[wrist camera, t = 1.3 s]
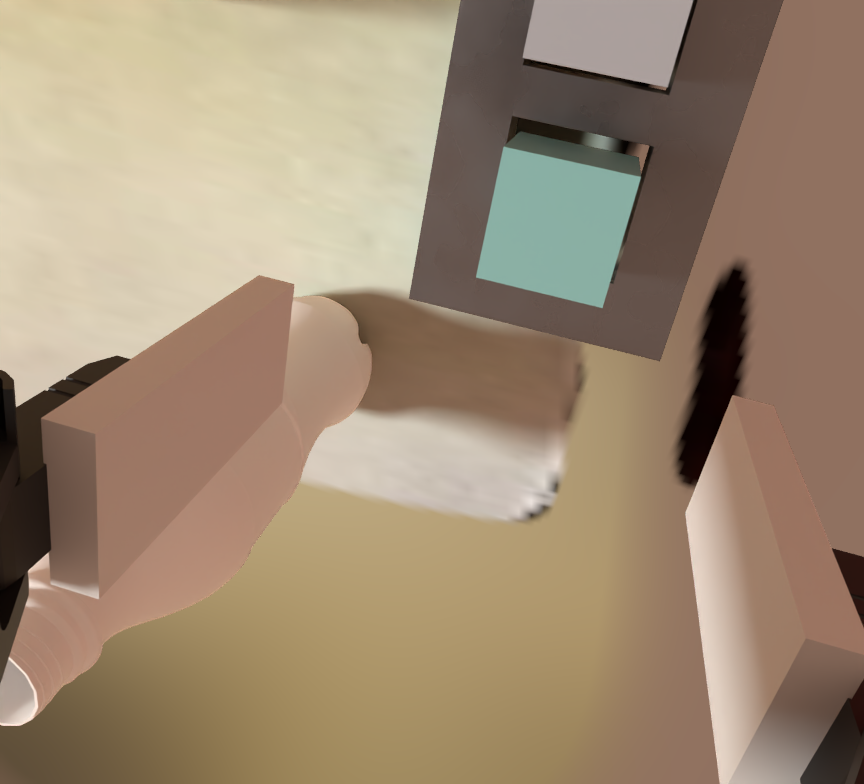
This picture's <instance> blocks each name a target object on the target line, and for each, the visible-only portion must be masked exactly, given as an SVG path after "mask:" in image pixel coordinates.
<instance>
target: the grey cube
mask: <svg viewBox="0 0 864 784" xmlns="http://www.w3.org/2000/svg"><path fill="white" fill-rule="evenodd" d="M692 3H693V0H535V1H534V6H533V10H532V15H531V20H530V24H529V29H528V34H527V39H526V43H525V48H524V53H523V57H522V58H526V59H531V60H536V61H541V62H546V63H550V64H555V65H560V66H565V67H570V68H575V69H580V70H584V71H589V72H594V73H599V74H604V75H609V76H614V77H618V78H623V79H628V80H633V81H638V82H643V83H648V84H652V85H657V86H662V87H668V84H669V81H670V77H671V74H672V71H673V67H674V64H675V60H676V57H677V54H678V50H679V47H680V43H681V40H682V37H683V33H684V30H685V26H686V23H687V20H688V16H689V13H690V10H691V6H692Z"/></svg>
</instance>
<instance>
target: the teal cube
mask: <svg viewBox="0 0 864 784" xmlns="http://www.w3.org/2000/svg"><path fill="white" fill-rule="evenodd" d="M640 179H641V172H640V165H639V157H635V156H630V155H626V154H621V153H617V152H612V151H608V150H603V149H598V148H594V147H589V146H585V145H580V144H575V143H571V142H566V141H562V140H557V139H552V138H548V137H543V136H539V135H534V134H529V133H525V132H519V133H518V134H517V135H516V136H515V137H514V138H512V139H511V140H510V141H509V142H508V143H507V144H506V145H505V146H504V147H503V152H502V157H501V161H500V166H499V171H498V175H497V180H496V185H495V190H494V194H493V199H492V204H491V208H490V213H489V218H488V223H487V227H486V232H485V237H484V242H483V246H482V251H481V256H480V260H479V265H478V270H477V275H476V278H481V279H485V280H489V281H493V282H497V283H501V284H505V285H509V286H514V287H518V288H522V289H526V290H530V291H534V292H538V293H542V294H546V295H551V296H555V297H559V298H563V299H567V300H571V301H575V302H579V303H583V304H588V305H592V306H596V307H600V308H603V304H604V301H605V298H606V294H607V291H608V288H609V284H610V281H611V277H612V274H613V271H614V267H615V264H616V260H617V257H618V254H619V250H620V247H621V243H622V240H623V237H624V233H625V230H626V226H627V223H628V220H629V216H630V213H631V210H632V206H633V203H634V199H635V196H636V193H637V189H638V186H639V182H640Z"/></svg>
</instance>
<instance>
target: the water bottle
mask: <svg viewBox="0 0 864 784" xmlns="http://www.w3.org/2000/svg"><path fill="white" fill-rule="evenodd" d="M358 331H359V327H358V323H357V321H356V320H355V318H354V316H353V315H352V313H351V312H350V311H349V310H348V309H346V308H345V307H343V306H342V305H341V304H339V303H337V302H335V301H333V300H331V299H329V298H326V297H323V296H303V297H294V298H293V302H292V312H291V322H290V331H289V341H288V351H287V361H286V371H285V380H284V390H283V400H282V404H281V405H280V406H279V407H278V408H277V409H276V410H275V411H274V412H273V413H272V414H271V416H270V417H269V418H268V419H267V420H266V421H265V422H264V423H263V424H262V425H261V426H260V427H259V428H258V430H257V431H256V432H255V433H254V434H253V435H252V436H251V437H250V438H249V439H248V440H247V441H246V442H245V443H244V445H243V446H242V447H241V448H240V449H239V450H238V451H237V452H236V453H235V454H234V455H233V456H232V457H231V458H230V460H229V461H228V462H227V463H226V464H225V465H224V466H223V467H222V468H221V469H220V470H219V471H218V472H217V474H216V475H215V476H214V477H213V478H212V479H211V480H210V481H209V482H208V483H207V484H206V485H205V486H204V487H203V489H202V490H201V491H200V492H199V493H198V494H197V495H196V496H195V497H194V498H193V499H192V500H191V501H190V503H189V504H188V505H187V506H186V507H185V508H184V509H183V510H182V511H181V512H180V513H179V514H178V515H177V516H176V518H175V519H174V520H173V521H172V522H171V523H170V524H169V525H168V526H167V527H166V528H165V529H164V530H163V531H162V533H161V534H160V535H159V536H158V537H157V538H156V539H155V540H154V541H153V542H152V543H151V544H150V545H149V547H148V548H147V549H146V550H145V551H144V552H143V553H142V554H141V555H140V556H139V557H138V558H137V559H136V560H135V562H134V563H133V564H132V565H131V566H130V567H129V568H128V569H127V570H126V571H125V572H124V573H123V574H122V576H121V577H120V578H119V579H118V580H117V581H116V582H115V583H114V584H113V585H112V586H111V587H110V588H109V589H108V591H107V592H106V593H105V594H104V595H103V596H102V597H101V598H100V599H96V598H93V597H90V596H86V595H83V594H80V593H77V592H74V591H71V590H67V589H64V588H61V587H58V586H55V585H52V584H51V582H50V565H49V552H48V553H47V554H46V555H45V556H44V557H43V558H42V559H41V560H39V561H38V562H37V563H36V564H35V565H34V566H33V567H32V568H30V569H29V570H28V577H29V596H28V599H27V602H26V605H25V608H24V612H23V615H22V618H21V621H20V624H19V627H18V630H17V633H16V637H15V640H14V643H13V646H12V649H11V652H10V655H9V658H8V661H7V665H6V668H5V671H4V674H3V677H2V680H1V683H0V725H3V726H16V725H17V726H20V725H22V724H24V723H26V722H28V721H30V720H32V719H33V718H34V717H35V716H36V715H38V714H39V712H41V711H42V710H43V709H44V707H45V706H46V704H48V703H49V702H50V701H51V700H52V698H53V696H54V695H55V694H56V693H57V692H58V691H59V690H60V688H61V687H62V686H63V685H65V684H68V683H70V682H72V681H73V680H74V679H75V678H76V677H77V676H78V675H79V674H82V673H84V672H85V671H87V670H88V669H90V668H91V667H92V666H93V665H94V664H95V662H96V661H97V660H98V658H99V656H100V654H101V651H102V647H103V643H104V642H105V641H107V640H108V639H109V638H111V637H112V636H113V635H115V634H117V633H119V632H120V631H122V630H125V629H127V628H130V627H133V626H136V625H138V624H142V623H145V622H148V621H151V620H154V619H158V618H161V617H164V616H166V615H169V614H172V613H174V612H177V611H179V610H182V609H185V608H187V607H189V606H191V605H193V604H195V603H197V602H199V601H201V600H203V599H205V598H207V597H208V596H210V595H212V594H213V593H214V592H216V591H217V590H218V589H219V588H221V587H222V586H223V585H224V584H225V583H227V582H228V581H229V580H230V579H231V578H232V577H233V576H234V575H235V574H236V572H237V571H238V570H239V569H240V568H241V567H242V566H243V565H244V563H245V561H246V559H247V557H248V556H249V554H250V551H251V548H252V546H253V545H254V544H255V542H256V541H257V539H258V538H259V537H260V535H261V534H262V533H263V531H264V530H265V528H266V527H267V526H268V524H269V523H270V522H271V520H272V519H273V517H274V516H275V515H276V513H277V512H278V511H279V509H280V508H281V506H282V505H284V504H285V503H286V502H288V500H289V499H290V498H291V496H292V495H293V493H294V491H295V490H296V488H297V485H298V484H299V481H300V478H301V475H302V472H303V469H304V466H305V463H306V461H307V458H308V455H309V453H310V451H311V449H312V447H313V445H314V443H315V441H316V439H317V438H318V436H319V435H320V434H321V433H322V431H323V430H324V429H325V428H326V427H330V426H333V425H335V424H337V423H339V422H341V421H343V420H344V419H346V418H347V417H348V416H350V415H351V414H352V413H353V412H354V410H355V409H356V408H357V406H358V405H359V403H360V402H361V400H362V398H363V396H364V394H365V392H366V390H367V387H368V384H369V380H370V375H371V371H372V353H371V350H370V348H369V346H368V344H362V343H361V341H360V339H359V336H358Z"/></svg>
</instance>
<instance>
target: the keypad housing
mask: <svg viewBox="0 0 864 784" xmlns="http://www.w3.org/2000/svg"><path fill="white" fill-rule="evenodd" d="M534 1H535V0H461V2H460V7H459V13H458V19H457V25H456V31H455V36H454V42H453V48H452V54H451V59H450V65H449V71H448V77H447V83H446V88H445V94H444V100H443V106H442V111H441V117H440V123H439V129H438V135H437V140H436V146H435V152H434V158H433V163H432V169H431V175H430V181H429V186H428V192H427V198H426V204H425V210H424V215H423V221H422V227H421V233H420V238H419V244H418V250H417V256H416V262H415V267H414V273H413V279H412V285H411V290H410V296H409V299H413V300H417V301H421V302H425V303H429V304H433V305H437V306H441V307H445V308H449V309H453V310H457V311H461V312H465V313H469V314H473V315H477V316H481V317H485V318H489V319H493V320H497V321H501V322H505V323H509V324H513V325H517V326H521V327H525V328H529V329H533V330H537V331H541V332H545V333H549V334H553V335H557V336H561V337H565V338H569V339H573V340H577V341H581V342H585V343H589V344H593V345H598V346H601V347H605V348H609V349H613V350H617V351H622V352H625V353H630V354H633V355H638V356H641V357H646V358H649V359H653V360H658V361H660V359H661V356H662V354H663V351H664V348H665V345H666V342H667V339H668V336H669V333H670V330H671V327H672V324H673V321H674V319H675V316H676V313H677V310H678V307H679V304H680V301H681V298H682V295H683V292H684V289H685V286H686V283H687V281H688V277H689V275H690V272H691V269H692V266H693V263H694V260H695V257H696V254H697V251H698V248H699V245H700V242H701V240H702V236H703V234H704V231H705V228H706V225H707V222H708V219H709V216H710V213H711V210H712V207H713V205H714V202H715V198H716V196H717V193H718V190H719V187H720V184H721V181H722V178H723V175H724V172H725V169H726V167H727V163H728V161H729V158H730V155H731V152H732V149H733V146H734V143H735V140H736V137H737V134H738V132H739V128H740V125H741V123H742V120H743V117H744V114H745V111H746V108H747V105H748V102H749V99H750V96H751V94H752V91H753V88H754V85H755V82H756V79H757V76H758V73H759V70H760V67H761V64H762V61H763V58H764V56H765V52H766V50H767V47H768V44H769V41H770V38H771V35H772V32H773V29H774V26H775V23H776V20H777V18H778V15H779V12H780V9H781V6H782V3H783V0H693V3H692V6H691V10H690V13H689V16H688V20H687V23H686V26H685V30H684V33H683V37H682V40H681V43H680V47H679V50H678V54H677V57H676V60H675V64H674V67H673V71H672V74H671V77H670V81H669V84H668V87H667V89H666V91H665V90H660V89H655V88H651V87H646V86H641V85H636V84H631V83H626V82H622V81H617V80H612V79H607V78H602V77H597V76H592V75H588V74H583V73H578V72H573V71H568V70H563V69H559V68H554V67H549V66H544V65H539V64H534V63H531V59H526V58H522V57H523V53H524V48H525V43H526V39H527V34H528V29H529V24H530V20H531V15H532V10H533V6H534ZM519 118H524V119H529V120H533V121H538V122H543V123H547V124H552V125H557V126H561V127H566V128H571V129H575V130H580V131H584V132H589V133H594V134H598V135H603V136H608V137H612V138H617V139H622V140H626V141H631V142H635V143H640V144H645V145H649V146H650V147H649V150H648V153H647V157H646V160H645V164H644V167H643V170H642V174H641V179H640V182H639V186H638V189H637V193H636V196H635V199H634V203H633V206H632V210H631V213H630V216H629V220H628V223H627V226H626V230H625V233H624V237H623V240H622V243H621V247H620V250H619V254H618V257H617V260H616V264H615V267H614V271H613V274H612V277H611V281H610V284H609V288H608V291H607V294H606V298H605V301H604V304H603V308H600V307H596V306H592V305H588V304H583V303H579V302H575V301H571V300H567V299H563V298H559V297H555V296H551V295H546V294H542V293H538V292H534V291H530V290H526V289H522V288H518V287H514V286H509V285H505V284H501V283H497V282H493V281H489V280H485V279H481V278H476V275H477V270H478V265H479V260H480V256H481V251H482V246H483V242H484V237H485V232H486V227H487V223H488V218H489V213H490V208H491V204H492V199H493V194H494V190H495V185H496V180H497V175H498V171H499V166H500V161H501V157H502V152H503V147H504V146H505V145H506V144H507V143H508V142H509V141H510V140H511V139H512V138H514V137H515V133H516V128H517V124H518V119H519Z"/></svg>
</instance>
